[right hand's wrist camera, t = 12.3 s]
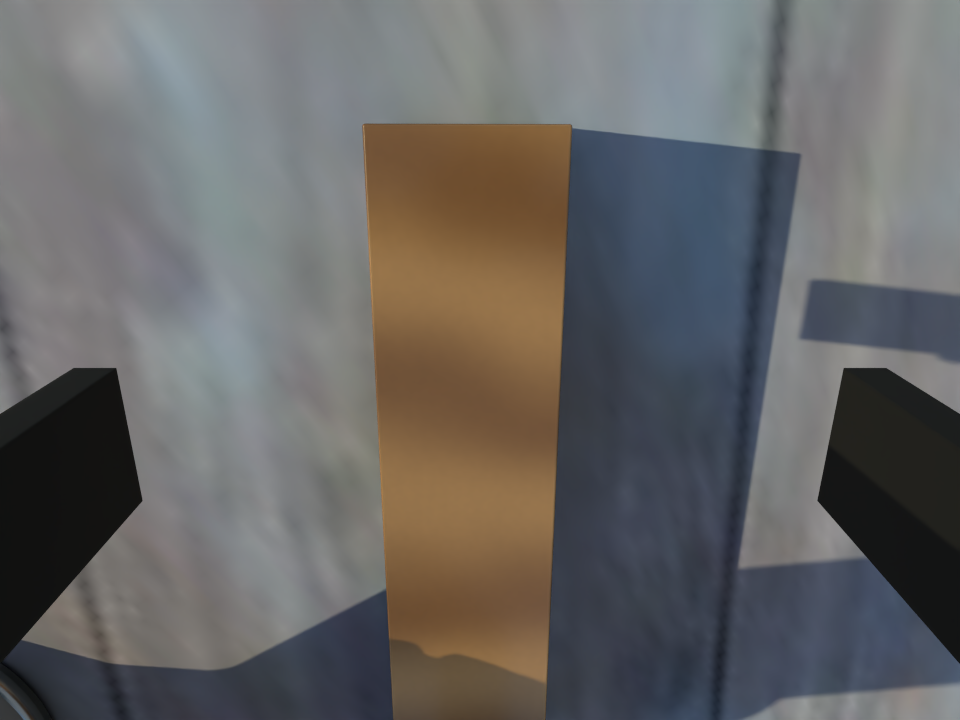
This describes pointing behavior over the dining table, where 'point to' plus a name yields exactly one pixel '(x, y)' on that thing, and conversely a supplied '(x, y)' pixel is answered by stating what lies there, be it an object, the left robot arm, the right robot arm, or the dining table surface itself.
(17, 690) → the left robot arm
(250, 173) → the dining table surface
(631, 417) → the dining table surface
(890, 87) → the dining table surface
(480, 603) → the bar
